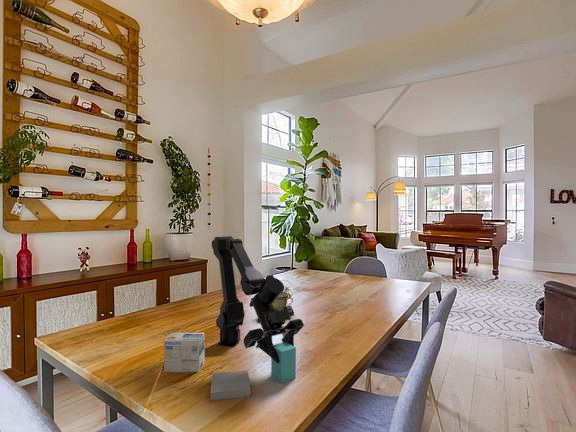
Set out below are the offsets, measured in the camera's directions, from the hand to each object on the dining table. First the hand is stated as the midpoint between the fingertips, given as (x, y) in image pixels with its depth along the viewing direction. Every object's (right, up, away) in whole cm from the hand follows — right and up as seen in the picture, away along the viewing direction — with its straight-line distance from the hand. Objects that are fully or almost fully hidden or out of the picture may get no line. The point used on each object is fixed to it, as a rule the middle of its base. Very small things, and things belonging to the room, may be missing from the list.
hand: (286, 360), depth 93 cm
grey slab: (-15, -5, -5) cm, 17 cm away
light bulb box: (-31, -6, +7) cm, 32 cm away
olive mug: (-3, -6, +59) cm, 59 cm away
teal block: (-1, -7, +1) cm, 7 cm away
